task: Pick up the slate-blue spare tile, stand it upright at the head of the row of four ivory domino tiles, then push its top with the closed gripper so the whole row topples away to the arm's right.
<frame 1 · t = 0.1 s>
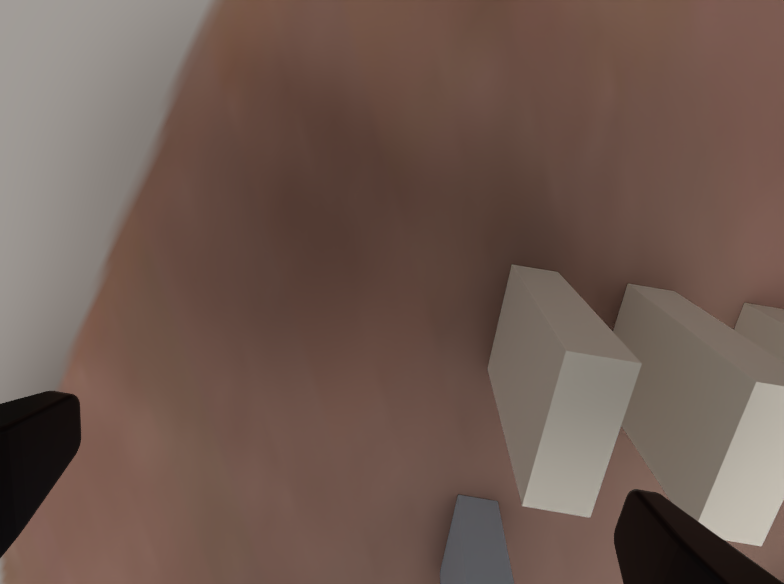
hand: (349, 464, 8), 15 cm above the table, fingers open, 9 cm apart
domino 2: (521, 322, 23), on the table
domino 4: (746, 359, 23), on the table
domino 1: (467, 537, 26), on the table
domino 3: (633, 340, 23), on the table
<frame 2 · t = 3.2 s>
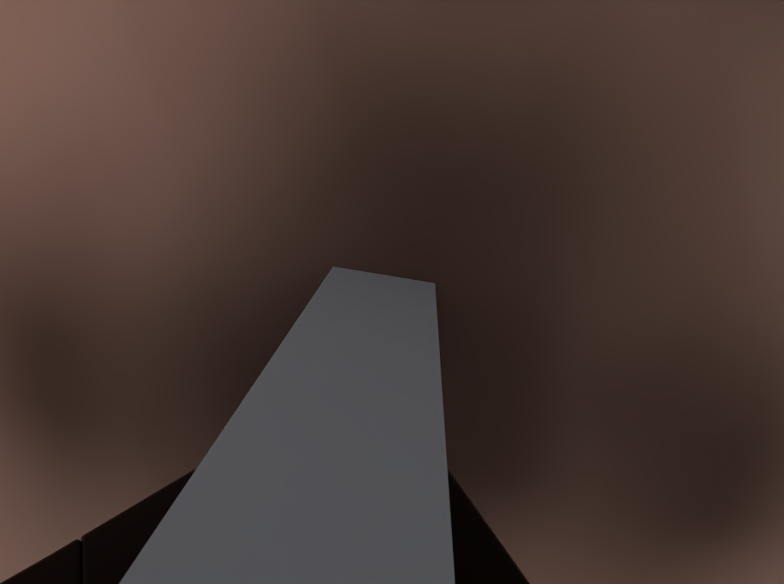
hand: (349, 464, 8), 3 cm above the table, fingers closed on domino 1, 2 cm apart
domino 1: (366, 388, 11), on the table, touching gripper
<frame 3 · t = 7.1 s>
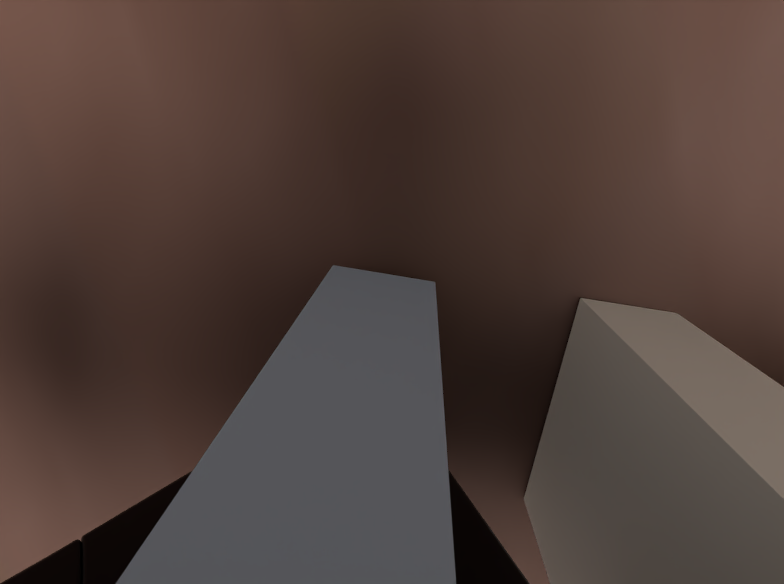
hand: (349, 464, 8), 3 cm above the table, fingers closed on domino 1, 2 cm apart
domino 2: (595, 412, 11), on the table, touching gripper
domino 1: (366, 388, 11), point 1 cm above the table, touching gripper
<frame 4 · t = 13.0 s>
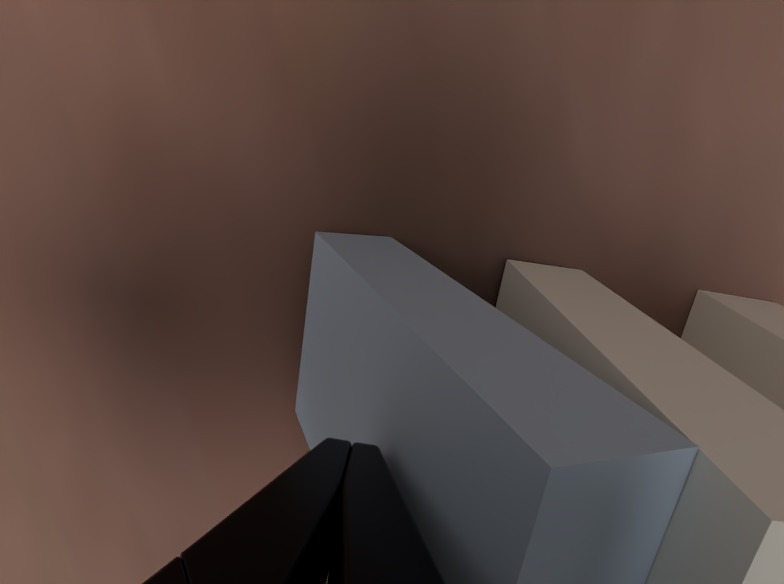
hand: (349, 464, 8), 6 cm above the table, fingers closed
domino 2: (521, 353, 14), on the table, tilted 6°
domino 1: (341, 326, 14), on the table, tilted 25°
domino 3: (703, 382, 14), on the table
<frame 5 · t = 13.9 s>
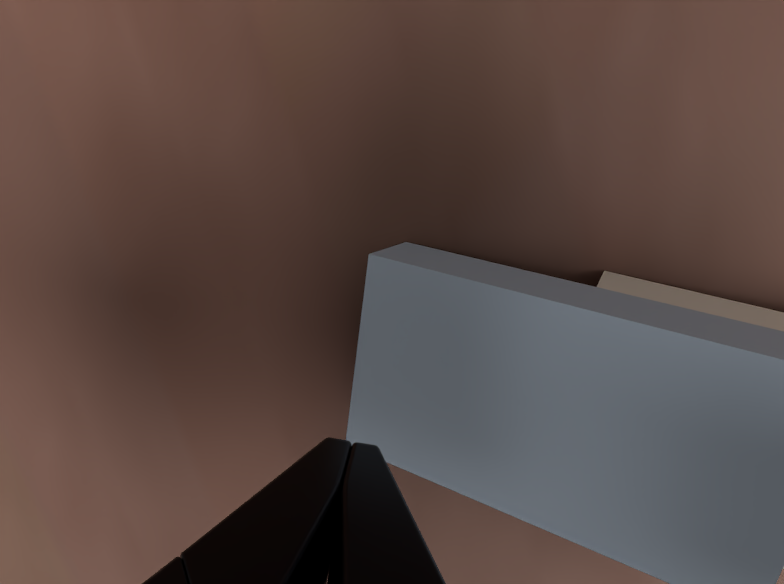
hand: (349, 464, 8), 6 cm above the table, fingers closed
domino 2: (574, 371, 13), point 1 cm above the table, tilted 67°, touching domino 1, domino 3
domino 1: (376, 342, 13), point 1 cm above the table, tilted 67°, touching domino 2
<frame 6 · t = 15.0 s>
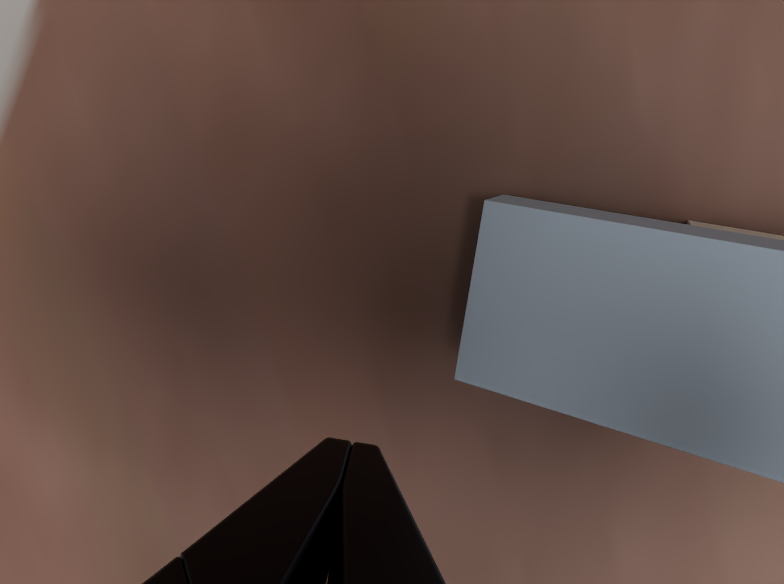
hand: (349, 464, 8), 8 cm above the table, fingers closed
domino 2: (664, 312, 14), point 1 cm above the table, tilted 68°, touching domino 1
domino 1: (479, 286, 14), point 1 cm above the table, tilted 68°, touching domino 2
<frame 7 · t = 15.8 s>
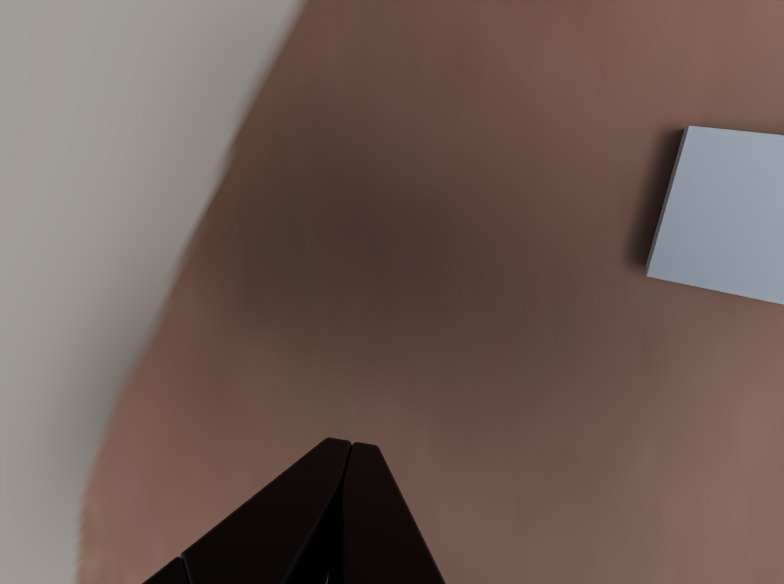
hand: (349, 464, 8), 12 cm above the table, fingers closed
domino 1: (665, 202, 18), point 1 cm above the table, tilted 69°, touching domino 2
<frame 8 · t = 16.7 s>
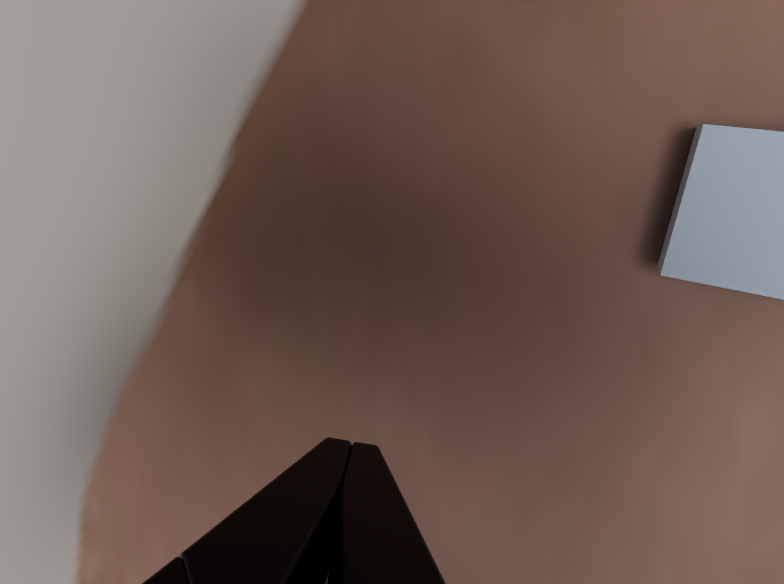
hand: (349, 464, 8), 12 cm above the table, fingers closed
domino 1: (678, 200, 18), point 1 cm above the table, tilted 69°, touching domino 2
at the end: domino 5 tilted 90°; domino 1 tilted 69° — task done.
